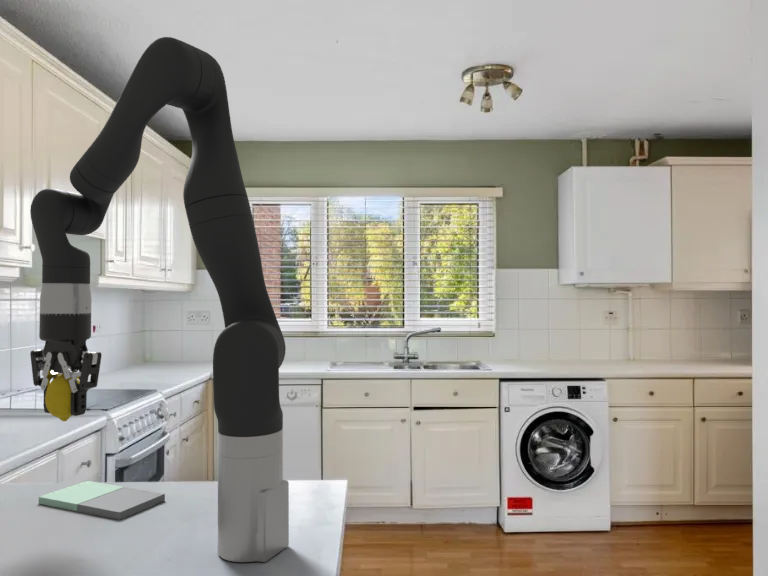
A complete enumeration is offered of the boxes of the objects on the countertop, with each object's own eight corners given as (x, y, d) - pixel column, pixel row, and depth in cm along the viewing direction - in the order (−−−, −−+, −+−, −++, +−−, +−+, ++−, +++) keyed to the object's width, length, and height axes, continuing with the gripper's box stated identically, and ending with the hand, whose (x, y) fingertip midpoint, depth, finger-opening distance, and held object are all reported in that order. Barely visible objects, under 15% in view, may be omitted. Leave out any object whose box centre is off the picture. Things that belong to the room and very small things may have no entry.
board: (164, 500, 104) (164, 493, 105) (119, 519, 95) (119, 512, 95) (87, 487, 112) (87, 480, 112) (38, 503, 103) (38, 496, 103)
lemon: (67, 425, 92) (67, 375, 92) (36, 424, 93) (37, 374, 93) (90, 418, 97) (91, 371, 97) (61, 417, 98) (62, 370, 98)
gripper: (116, 311, 96) (115, 412, 96) (56, 310, 102) (54, 406, 101) (77, 312, 89) (75, 421, 89) (14, 311, 95) (12, 414, 94)
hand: (64, 413), depth 95 cm, fingers closed on lemon, 5 cm apart
